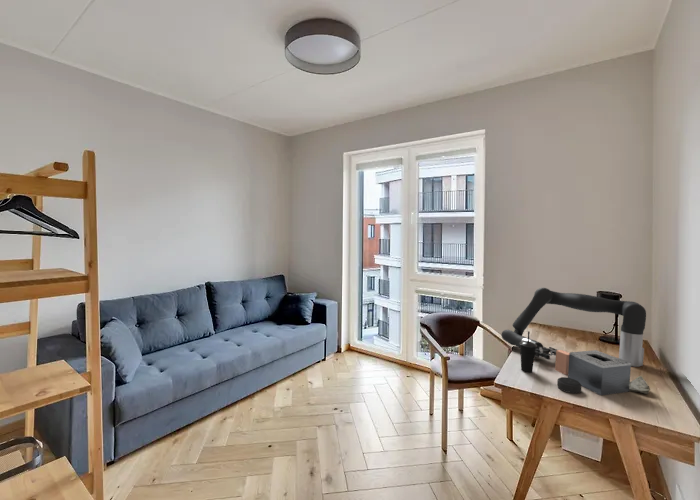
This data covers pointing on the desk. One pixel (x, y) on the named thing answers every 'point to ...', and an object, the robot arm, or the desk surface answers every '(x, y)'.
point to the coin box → (599, 372)
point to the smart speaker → (569, 385)
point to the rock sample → (639, 385)
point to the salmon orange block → (562, 361)
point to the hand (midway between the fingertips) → (556, 357)
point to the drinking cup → (527, 355)
